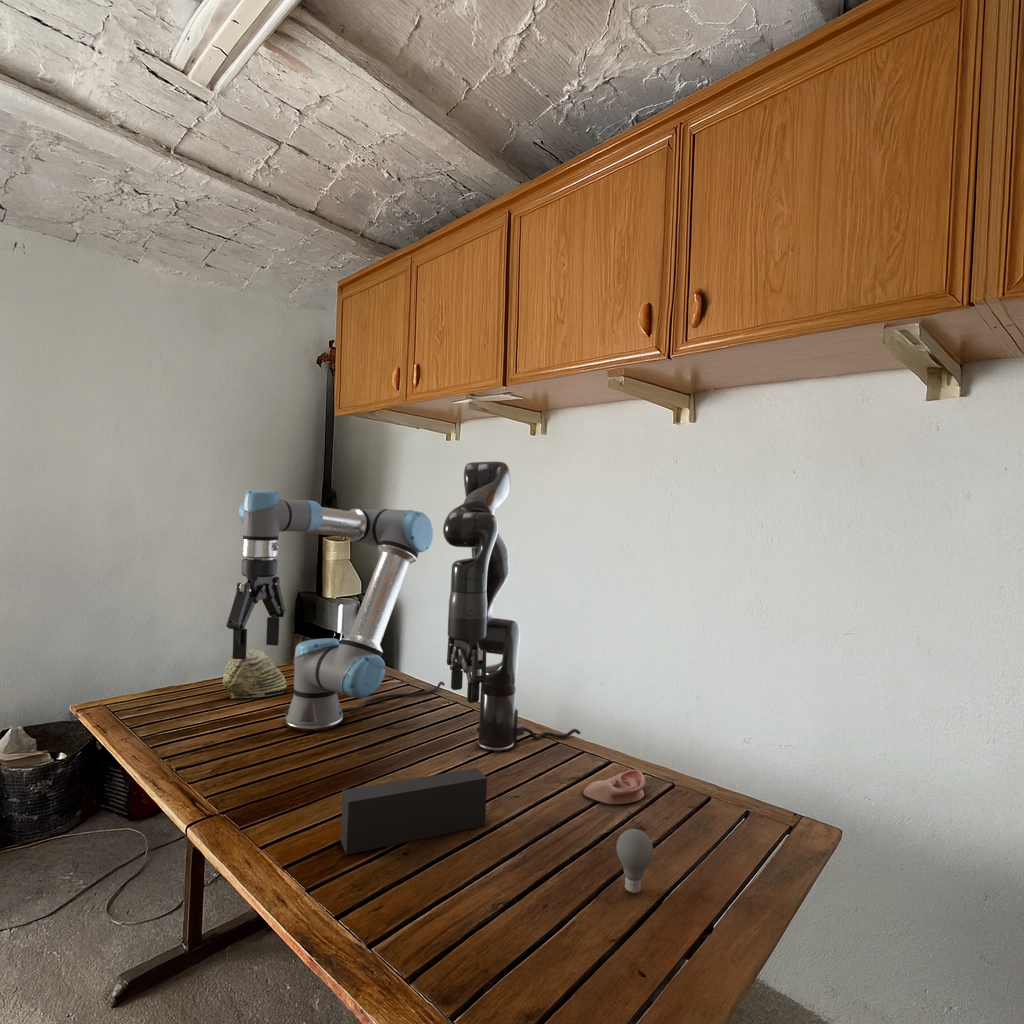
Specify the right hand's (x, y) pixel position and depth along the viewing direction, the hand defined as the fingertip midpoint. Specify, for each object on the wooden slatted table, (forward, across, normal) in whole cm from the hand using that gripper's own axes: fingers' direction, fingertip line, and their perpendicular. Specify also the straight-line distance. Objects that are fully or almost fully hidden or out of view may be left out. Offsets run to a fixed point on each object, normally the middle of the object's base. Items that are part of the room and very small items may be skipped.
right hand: (464, 695), depth 124 cm
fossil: (+26, +97, +30) cm, 105 cm away
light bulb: (+26, -31, -19) cm, 44 cm away
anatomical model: (+26, 0, -37) cm, 45 cm away
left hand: (-2, +39, +35) cm, 53 cm away
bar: (+26, 0, +9) cm, 27 cm away
